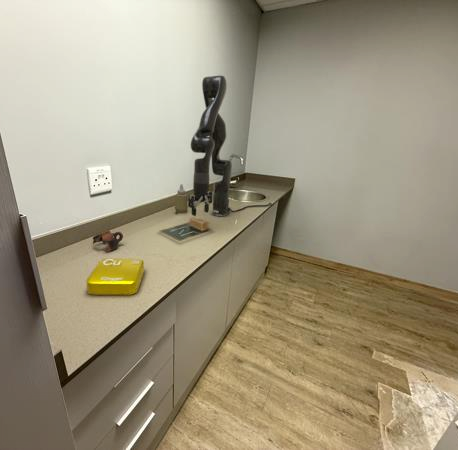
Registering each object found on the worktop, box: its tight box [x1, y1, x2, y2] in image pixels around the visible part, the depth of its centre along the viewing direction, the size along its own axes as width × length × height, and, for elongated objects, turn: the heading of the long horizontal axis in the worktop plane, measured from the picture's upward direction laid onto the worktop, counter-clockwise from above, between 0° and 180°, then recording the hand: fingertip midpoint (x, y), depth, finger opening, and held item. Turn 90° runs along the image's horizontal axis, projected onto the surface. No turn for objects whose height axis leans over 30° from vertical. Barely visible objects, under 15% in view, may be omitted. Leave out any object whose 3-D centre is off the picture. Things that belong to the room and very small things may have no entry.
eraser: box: [189, 216, 210, 234], centre depth 122 cm, size 5×9×5 cm, turn 45°
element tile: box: [86, 258, 145, 296], centre depth 79 cm, size 15×15×5 cm
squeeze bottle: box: [174, 183, 189, 215], centre depth 147 cm, size 8×8×18 cm
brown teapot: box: [92, 229, 124, 253], centre depth 102 cm, size 12×10×8 cm
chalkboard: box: [159, 221, 213, 242], centre depth 121 cm, size 22×16×1 cm
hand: (200, 213), depth 120 cm, fingers open, 8 cm apart
